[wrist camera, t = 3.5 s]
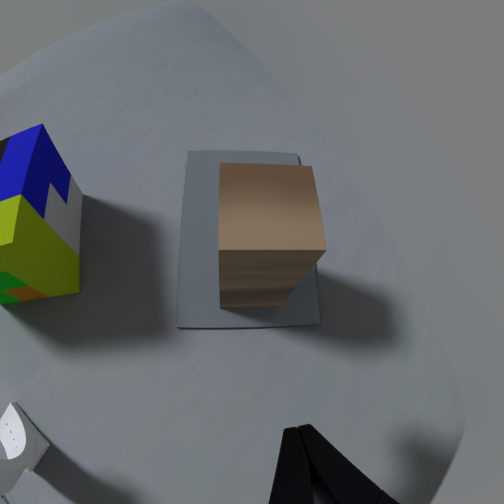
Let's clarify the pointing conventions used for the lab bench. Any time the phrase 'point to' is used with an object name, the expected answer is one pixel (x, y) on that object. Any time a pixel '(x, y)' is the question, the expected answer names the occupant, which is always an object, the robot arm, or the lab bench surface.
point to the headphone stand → (18, 446)
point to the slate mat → (207, 260)
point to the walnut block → (266, 232)
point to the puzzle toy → (37, 219)
